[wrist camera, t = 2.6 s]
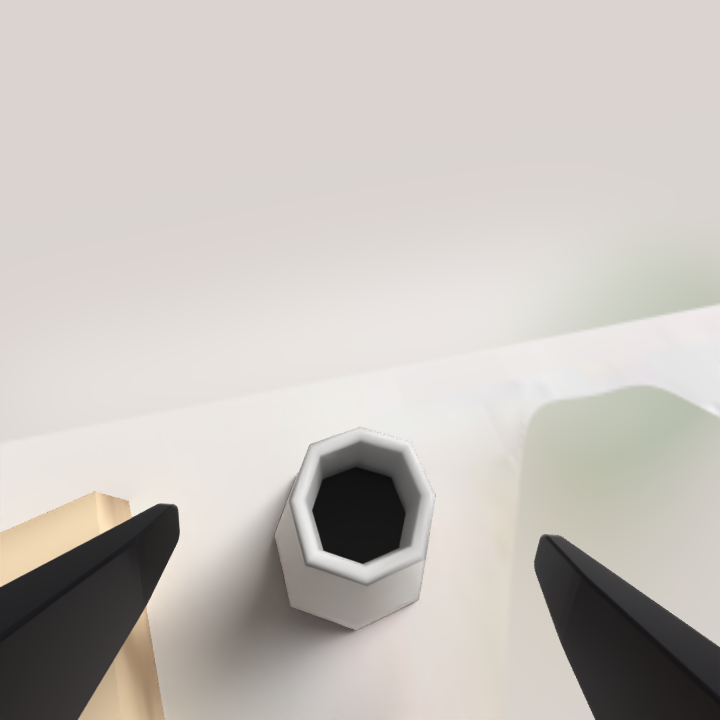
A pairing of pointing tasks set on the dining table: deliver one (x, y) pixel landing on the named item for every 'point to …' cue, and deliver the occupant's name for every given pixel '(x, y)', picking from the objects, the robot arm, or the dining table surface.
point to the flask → (356, 528)
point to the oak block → (136, 658)
